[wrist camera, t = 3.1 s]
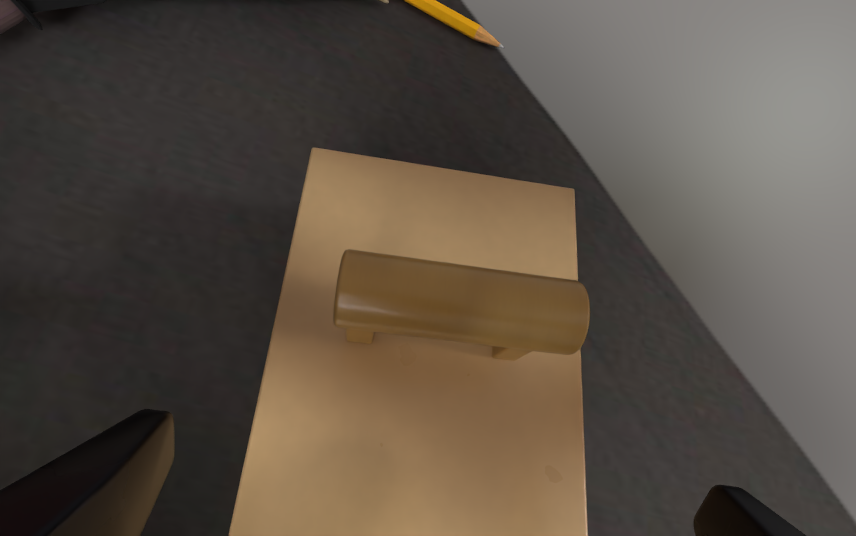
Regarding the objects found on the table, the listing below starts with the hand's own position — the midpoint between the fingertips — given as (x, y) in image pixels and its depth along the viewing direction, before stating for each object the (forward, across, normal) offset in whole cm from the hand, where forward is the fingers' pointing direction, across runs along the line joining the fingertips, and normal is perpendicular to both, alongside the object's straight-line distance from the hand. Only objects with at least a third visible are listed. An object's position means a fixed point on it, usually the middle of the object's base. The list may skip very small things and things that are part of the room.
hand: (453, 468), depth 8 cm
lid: (+5, 0, +2) cm, 6 cm away
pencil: (+23, +1, -9) cm, 24 cm away
